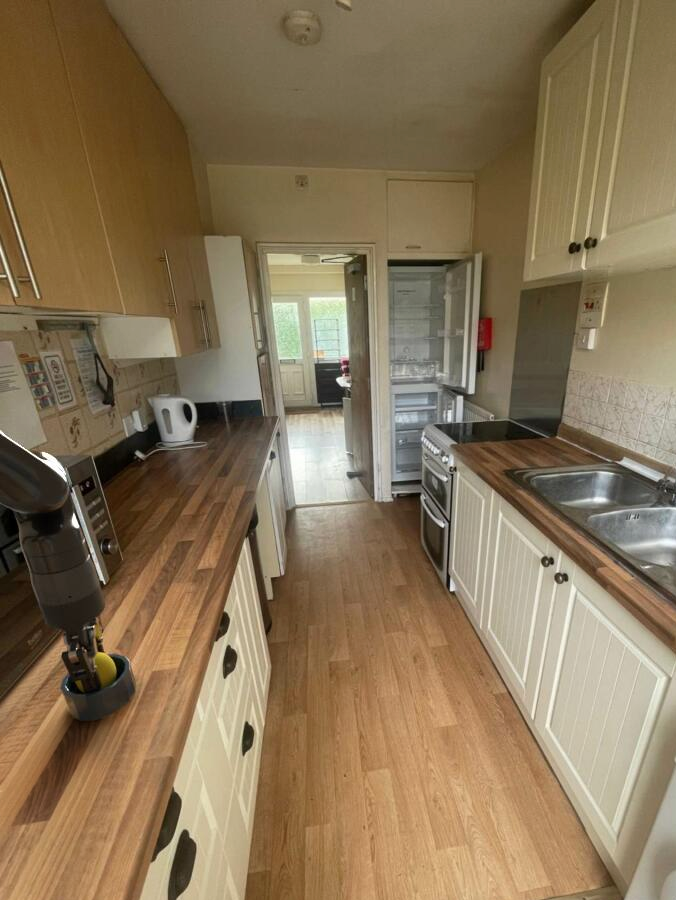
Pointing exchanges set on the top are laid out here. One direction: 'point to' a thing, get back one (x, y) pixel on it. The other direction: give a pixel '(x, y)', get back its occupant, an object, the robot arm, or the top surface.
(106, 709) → the bowl
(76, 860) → the top surface
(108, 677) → the lemon
